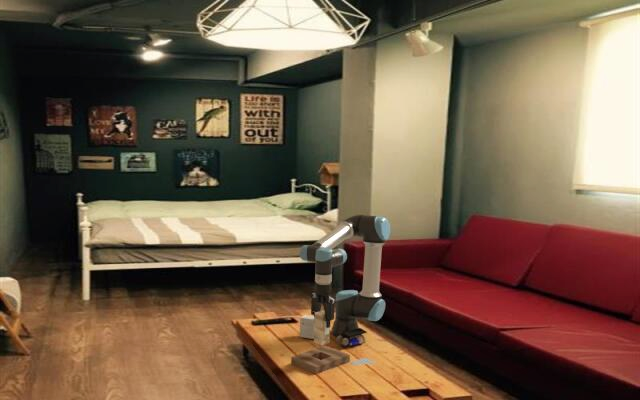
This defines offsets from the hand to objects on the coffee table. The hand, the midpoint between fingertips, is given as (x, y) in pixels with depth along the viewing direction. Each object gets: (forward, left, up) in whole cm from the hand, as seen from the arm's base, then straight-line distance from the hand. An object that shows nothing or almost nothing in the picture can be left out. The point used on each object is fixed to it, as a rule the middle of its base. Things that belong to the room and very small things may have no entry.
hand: (322, 332), depth 263 cm
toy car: (-21, -8, -13) cm, 26 cm away
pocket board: (0, 0, -15) cm, 15 cm away
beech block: (0, 0, -5) cm, 5 cm away
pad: (-15, +14, -15) cm, 25 cm away
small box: (-22, -30, -15) cm, 40 cm away
